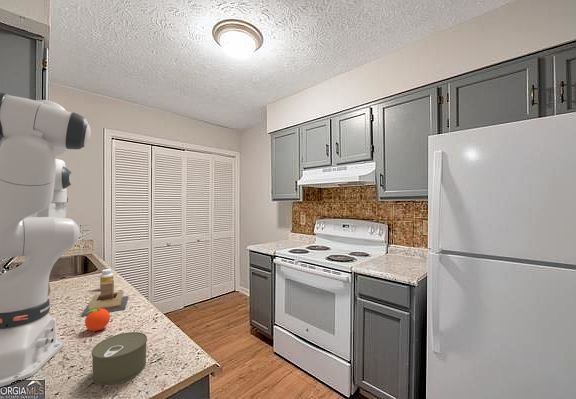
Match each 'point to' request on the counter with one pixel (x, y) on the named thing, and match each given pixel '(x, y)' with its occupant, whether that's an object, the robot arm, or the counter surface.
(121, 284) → the counter surface
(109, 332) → the counter surface
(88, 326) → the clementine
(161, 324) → the counter surface
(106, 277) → the supplement bottle
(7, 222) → the robot arm
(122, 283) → the counter surface
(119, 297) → the collar
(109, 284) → the peg
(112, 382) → the can
